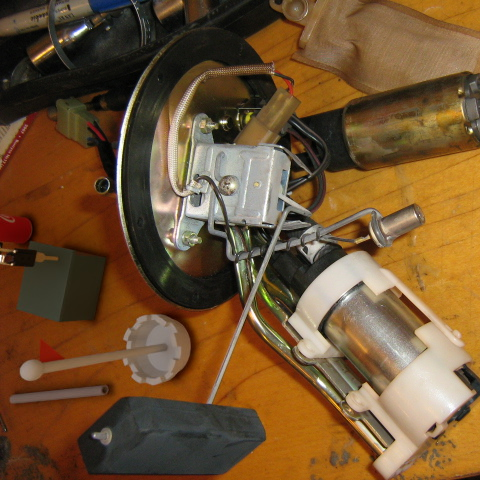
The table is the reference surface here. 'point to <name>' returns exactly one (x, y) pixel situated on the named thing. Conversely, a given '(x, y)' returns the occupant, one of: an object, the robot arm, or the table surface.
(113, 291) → the table surface
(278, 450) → the table surface
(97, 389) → the metal rod
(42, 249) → the box lid
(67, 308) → the dark green open box
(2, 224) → the beverage can
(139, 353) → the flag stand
